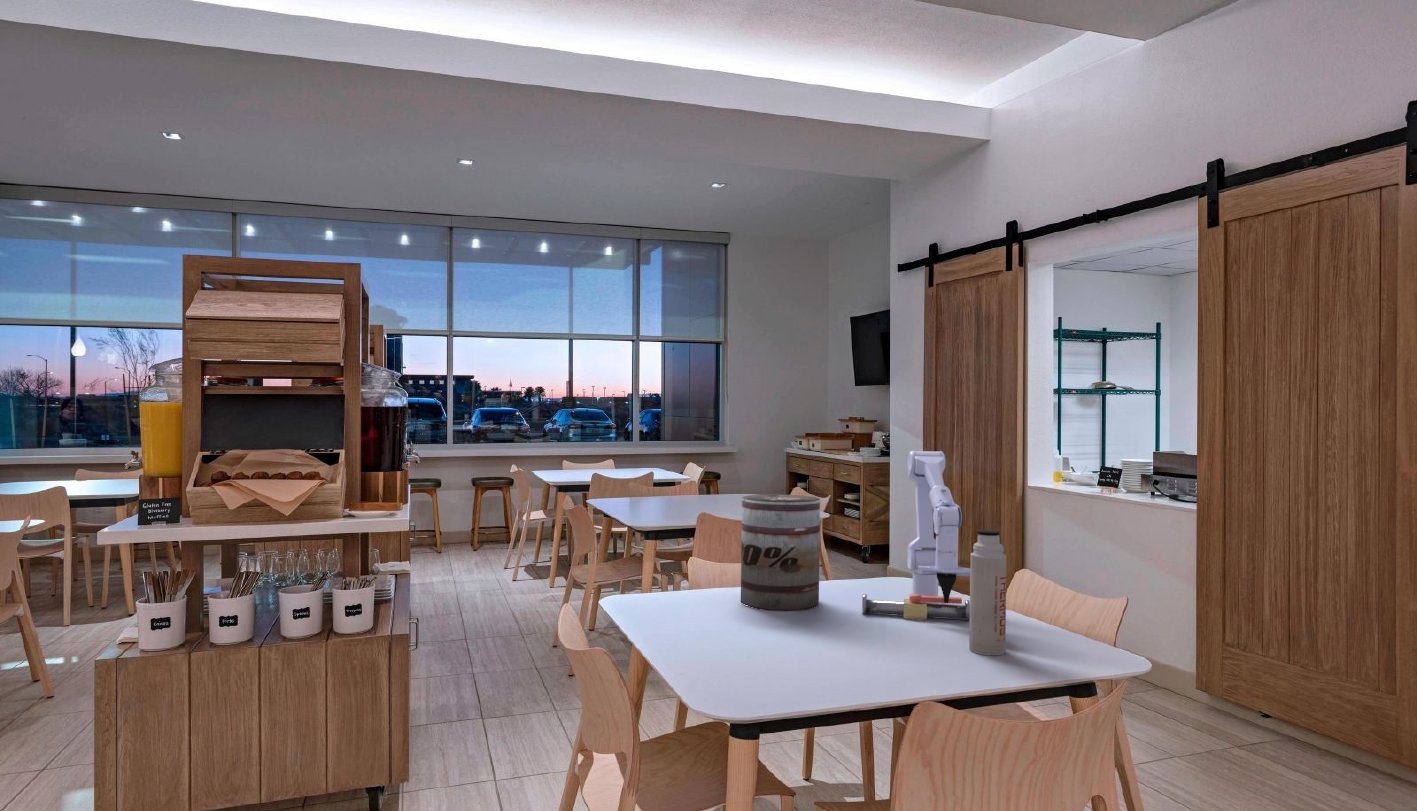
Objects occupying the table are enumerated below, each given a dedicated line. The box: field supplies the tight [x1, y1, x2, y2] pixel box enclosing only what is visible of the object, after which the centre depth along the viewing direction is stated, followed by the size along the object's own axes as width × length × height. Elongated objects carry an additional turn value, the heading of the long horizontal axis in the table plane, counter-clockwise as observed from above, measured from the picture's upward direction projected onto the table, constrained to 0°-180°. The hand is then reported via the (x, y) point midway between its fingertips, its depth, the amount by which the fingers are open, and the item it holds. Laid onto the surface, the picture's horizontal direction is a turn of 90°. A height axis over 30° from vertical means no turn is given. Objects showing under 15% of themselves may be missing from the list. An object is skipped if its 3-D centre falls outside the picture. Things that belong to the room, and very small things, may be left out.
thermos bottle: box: [968, 529, 1007, 656], centre depth 200 cm, size 8×8×28 cm
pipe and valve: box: [861, 593, 970, 621], centre depth 233 cm, size 6×28×5 cm, turn 77°
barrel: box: [740, 493, 821, 612], centre depth 248 cm, size 22×22×30 cm
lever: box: [908, 593, 963, 605], centre depth 232 cm, size 14×3×1 cm, turn 78°
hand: (946, 602), depth 229 cm, fingers closed, pressing on lever
